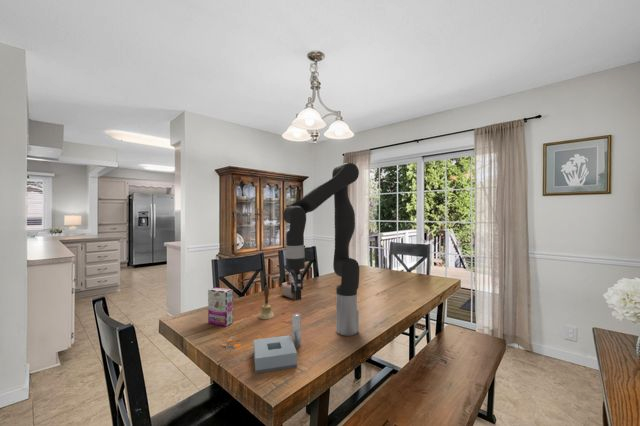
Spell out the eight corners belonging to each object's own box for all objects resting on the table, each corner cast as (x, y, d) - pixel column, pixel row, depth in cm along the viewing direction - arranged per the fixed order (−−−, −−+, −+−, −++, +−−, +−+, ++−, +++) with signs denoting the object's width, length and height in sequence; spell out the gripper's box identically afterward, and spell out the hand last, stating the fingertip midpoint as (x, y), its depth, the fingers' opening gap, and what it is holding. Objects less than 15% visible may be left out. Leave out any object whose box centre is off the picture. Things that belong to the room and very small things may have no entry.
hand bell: (277, 316, 143) (277, 285, 143) (264, 320, 137) (264, 288, 137) (268, 312, 149) (268, 282, 148) (254, 316, 142) (254, 285, 142)
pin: (300, 342, 115) (300, 313, 115) (301, 346, 111) (301, 316, 111) (291, 343, 114) (291, 313, 114) (292, 347, 110) (293, 317, 110)
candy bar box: (233, 323, 134) (233, 289, 134) (226, 327, 129) (226, 291, 129) (215, 319, 138) (215, 286, 138) (207, 323, 133) (207, 289, 133)
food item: (279, 295, 178) (279, 280, 178) (289, 293, 183) (289, 278, 183) (292, 300, 168) (292, 284, 168) (302, 298, 173) (302, 282, 173)
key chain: (244, 348, 110) (244, 346, 110) (225, 354, 106) (225, 351, 106) (233, 336, 120) (233, 334, 120) (216, 341, 116) (216, 339, 116)
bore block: (290, 347, 110) (290, 335, 110) (297, 367, 96) (297, 352, 96) (253, 352, 106) (253, 339, 106) (255, 373, 92) (255, 358, 92)
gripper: (308, 258, 105) (309, 301, 106) (300, 252, 119) (301, 290, 119) (289, 260, 103) (290, 303, 104) (283, 254, 117) (283, 292, 117)
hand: (296, 296), depth 111 cm, fingers open, 8 cm apart
